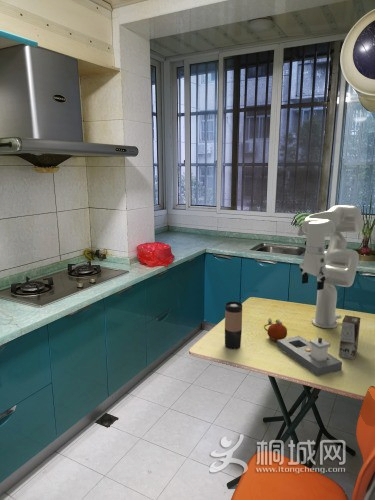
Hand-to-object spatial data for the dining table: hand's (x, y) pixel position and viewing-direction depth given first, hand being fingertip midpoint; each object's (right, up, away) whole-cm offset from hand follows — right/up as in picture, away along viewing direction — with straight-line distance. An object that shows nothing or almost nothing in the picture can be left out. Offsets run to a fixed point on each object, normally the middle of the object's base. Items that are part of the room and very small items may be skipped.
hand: (312, 286), depth 164 cm
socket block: (-5, -30, -9) cm, 32 cm away
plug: (-3, -31, -15) cm, 34 cm away
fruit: (-14, -26, +9) cm, 31 cm away
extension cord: (-11, -24, +22) cm, 34 cm away
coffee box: (+14, -29, -5) cm, 33 cm away
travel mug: (-36, -28, +2) cm, 45 cm away
